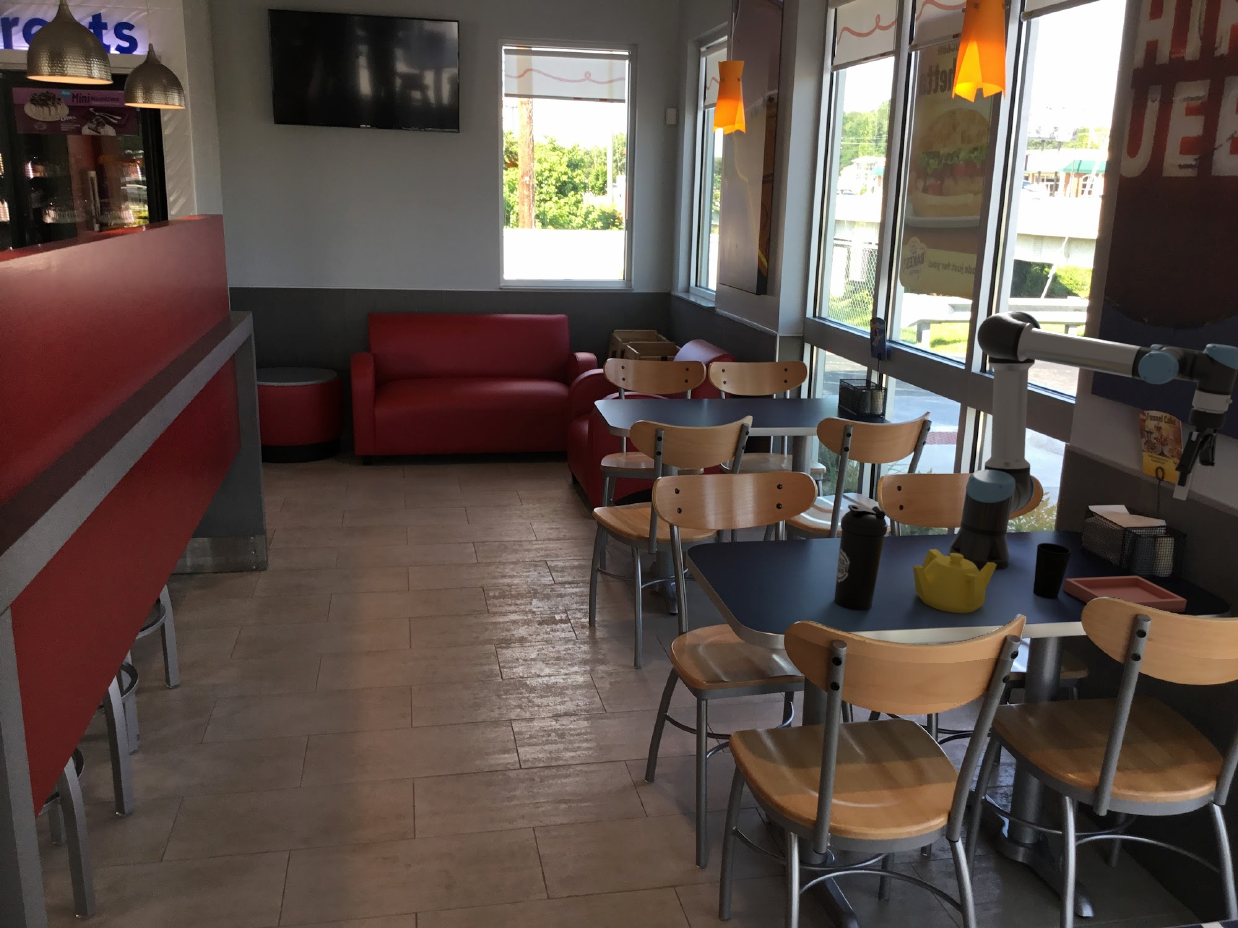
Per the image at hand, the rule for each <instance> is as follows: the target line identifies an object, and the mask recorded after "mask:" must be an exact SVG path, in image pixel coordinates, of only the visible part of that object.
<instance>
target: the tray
mask: <svg viewBox="0 0 1238 928" xmlns="http://www.w3.org/2000/svg"><path fill="white" fill-rule="evenodd" d="M1062 591H1064V592H1066V593H1068V594H1069V595H1071V596H1073V597H1075V598H1076V597H1077V598H1076V599H1078V598H1079V599H1078V600H1080V601H1082V600H1083V601H1082V602H1084V601H1085V602H1084V603H1086V604H1087V602H1089V600H1092V598H1097V597H1103V596H1107V597H1115V598H1120V599H1122V600H1126V601H1127V602H1133V603H1137V604H1141V605H1145V606H1148V607H1153V608H1158V609H1159V610H1165V611H1172V612H1171V613H1184V612H1185V610H1186V606H1187V601H1188V600H1187V599H1185V598H1184V597H1182V596H1180V595H1178V594H1175V593H1173V592H1171V591H1170V590H1167V589H1165V588H1163V587H1161V586H1159V585H1157V584H1155V583H1153V582H1151V581H1149V580H1147V579H1145V578H1142V577H1140V576H1139V575H1127V576H1126V575H1124V576H1123V575H1122V576H1121V575H1120V576H1100V577H1099V576H1098V577H1095V576H1094V577H1076V578H1075V577H1074V578H1064V583H1063V587H1062Z"/></svg>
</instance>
